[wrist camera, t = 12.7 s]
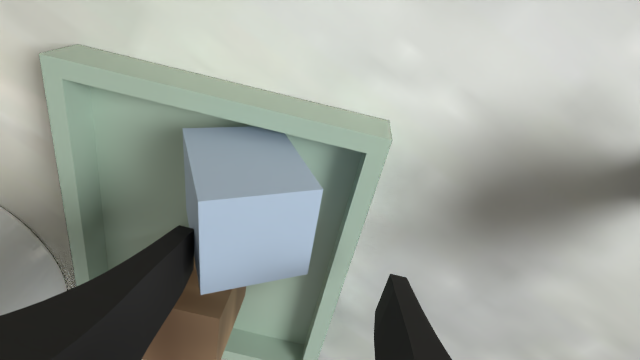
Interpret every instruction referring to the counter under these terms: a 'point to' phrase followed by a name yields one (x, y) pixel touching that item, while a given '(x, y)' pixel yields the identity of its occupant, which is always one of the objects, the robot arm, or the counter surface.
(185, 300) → the walnut block
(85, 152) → the tray
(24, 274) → the utensil holder
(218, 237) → the bluegrey block
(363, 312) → the counter surface
